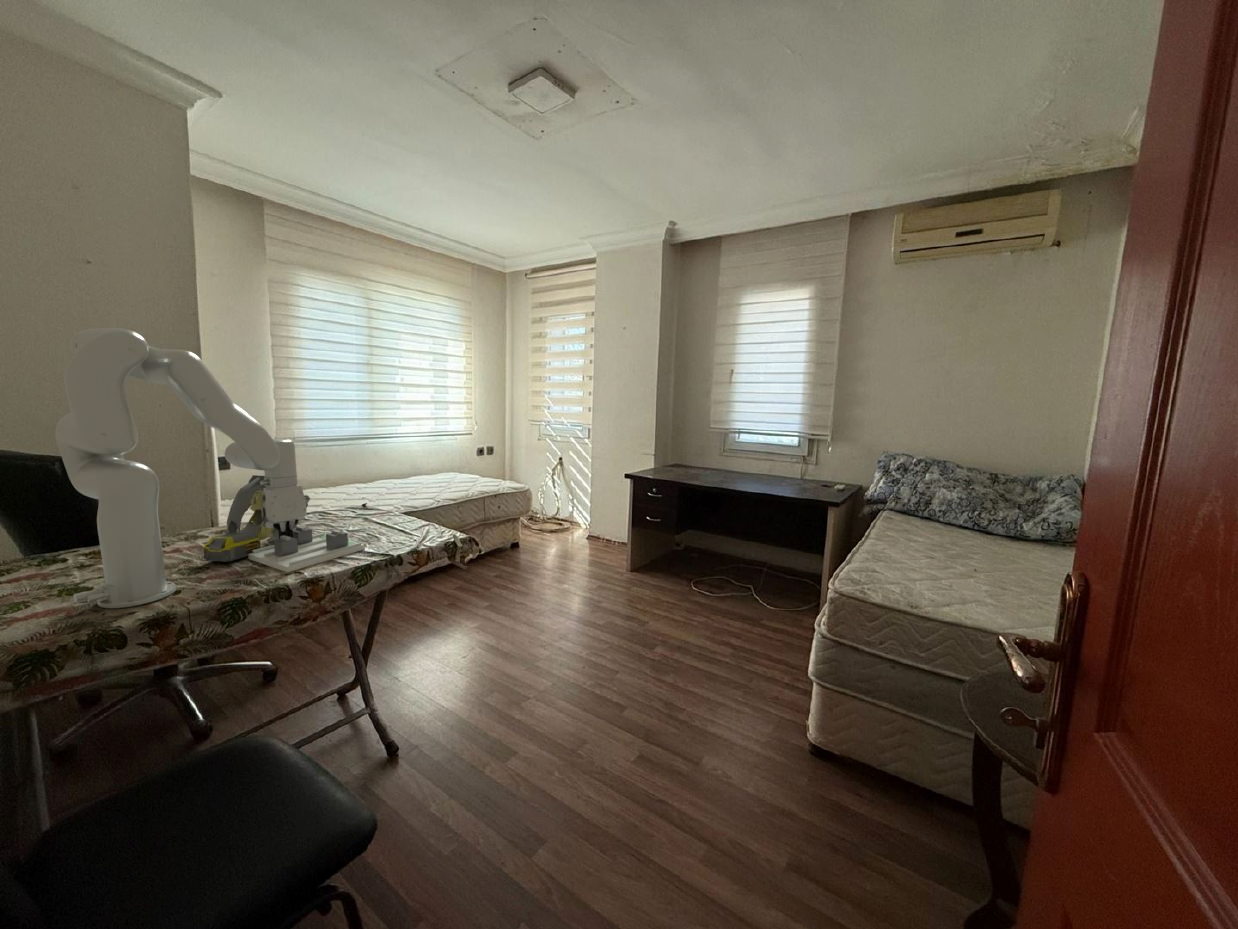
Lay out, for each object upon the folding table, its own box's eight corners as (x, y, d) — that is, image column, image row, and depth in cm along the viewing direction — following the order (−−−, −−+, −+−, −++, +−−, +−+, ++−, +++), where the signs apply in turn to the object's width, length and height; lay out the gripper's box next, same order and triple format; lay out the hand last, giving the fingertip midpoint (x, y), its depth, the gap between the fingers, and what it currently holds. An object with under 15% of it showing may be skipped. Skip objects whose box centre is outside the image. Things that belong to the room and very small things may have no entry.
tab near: (335, 551, 136) (334, 533, 136) (326, 548, 138) (325, 531, 137) (348, 547, 140) (347, 530, 139) (339, 544, 142) (338, 528, 141)
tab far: (298, 546, 139) (297, 529, 138) (291, 544, 140) (289, 527, 140) (312, 543, 142) (311, 526, 141) (304, 541, 144) (303, 524, 143)
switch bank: (287, 572, 124) (286, 564, 123) (248, 558, 132) (248, 551, 132) (364, 549, 143) (364, 542, 143) (326, 538, 152) (326, 531, 151)
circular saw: (318, 504, 159) (272, 461, 139) (274, 588, 142) (213, 553, 122) (290, 502, 160) (239, 460, 140) (242, 586, 143) (177, 551, 123)
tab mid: (283, 558, 129) (281, 539, 129) (274, 555, 131) (273, 537, 130) (298, 554, 133) (297, 536, 132) (290, 551, 135) (288, 533, 134)
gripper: (259, 487, 126) (265, 552, 129) (315, 479, 139) (320, 538, 142) (244, 484, 130) (250, 547, 132) (301, 476, 143) (305, 534, 146)
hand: (286, 542), depth 137 cm, fingers closed
